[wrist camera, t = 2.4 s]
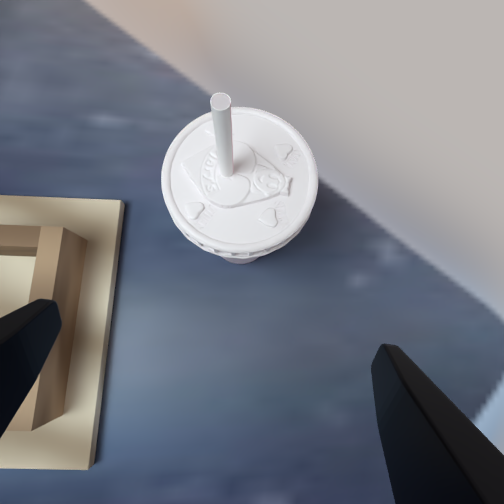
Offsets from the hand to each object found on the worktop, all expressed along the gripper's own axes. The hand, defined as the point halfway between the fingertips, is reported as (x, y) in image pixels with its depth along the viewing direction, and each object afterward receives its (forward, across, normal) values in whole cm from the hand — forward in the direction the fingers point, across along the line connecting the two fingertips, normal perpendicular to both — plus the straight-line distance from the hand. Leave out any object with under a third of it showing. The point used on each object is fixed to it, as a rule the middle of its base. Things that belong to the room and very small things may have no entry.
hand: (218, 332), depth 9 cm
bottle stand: (+8, +14, +10) cm, 19 cm away
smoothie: (+13, 0, +5) cm, 14 cm away
